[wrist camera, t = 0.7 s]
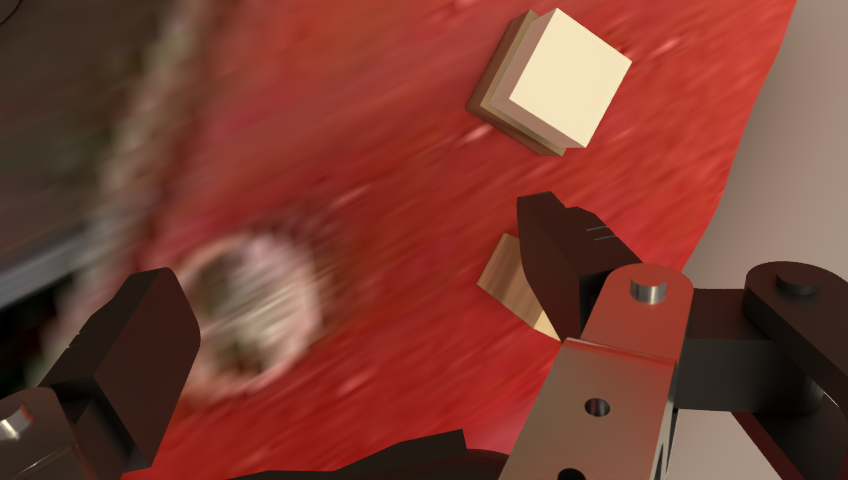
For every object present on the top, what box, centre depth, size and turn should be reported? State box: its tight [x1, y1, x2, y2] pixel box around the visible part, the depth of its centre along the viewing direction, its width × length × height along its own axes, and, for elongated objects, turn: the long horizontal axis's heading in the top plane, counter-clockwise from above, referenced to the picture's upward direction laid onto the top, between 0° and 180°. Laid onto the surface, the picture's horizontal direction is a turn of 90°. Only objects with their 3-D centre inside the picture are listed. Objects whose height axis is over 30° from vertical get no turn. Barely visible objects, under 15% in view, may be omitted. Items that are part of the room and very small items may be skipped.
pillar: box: [477, 233, 560, 341], centre depth 35 cm, size 4×4×10 cm
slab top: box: [489, 8, 632, 148], centre depth 33 cm, size 6×6×4 cm
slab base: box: [465, 10, 567, 156], centre depth 36 cm, size 7×7×4 cm
